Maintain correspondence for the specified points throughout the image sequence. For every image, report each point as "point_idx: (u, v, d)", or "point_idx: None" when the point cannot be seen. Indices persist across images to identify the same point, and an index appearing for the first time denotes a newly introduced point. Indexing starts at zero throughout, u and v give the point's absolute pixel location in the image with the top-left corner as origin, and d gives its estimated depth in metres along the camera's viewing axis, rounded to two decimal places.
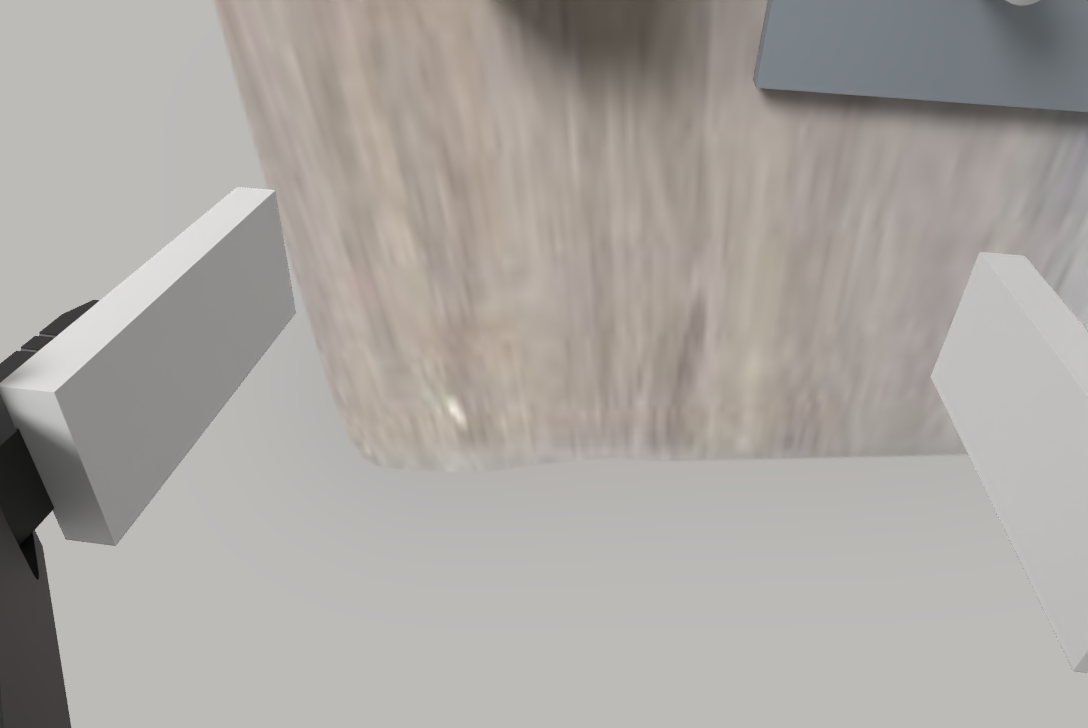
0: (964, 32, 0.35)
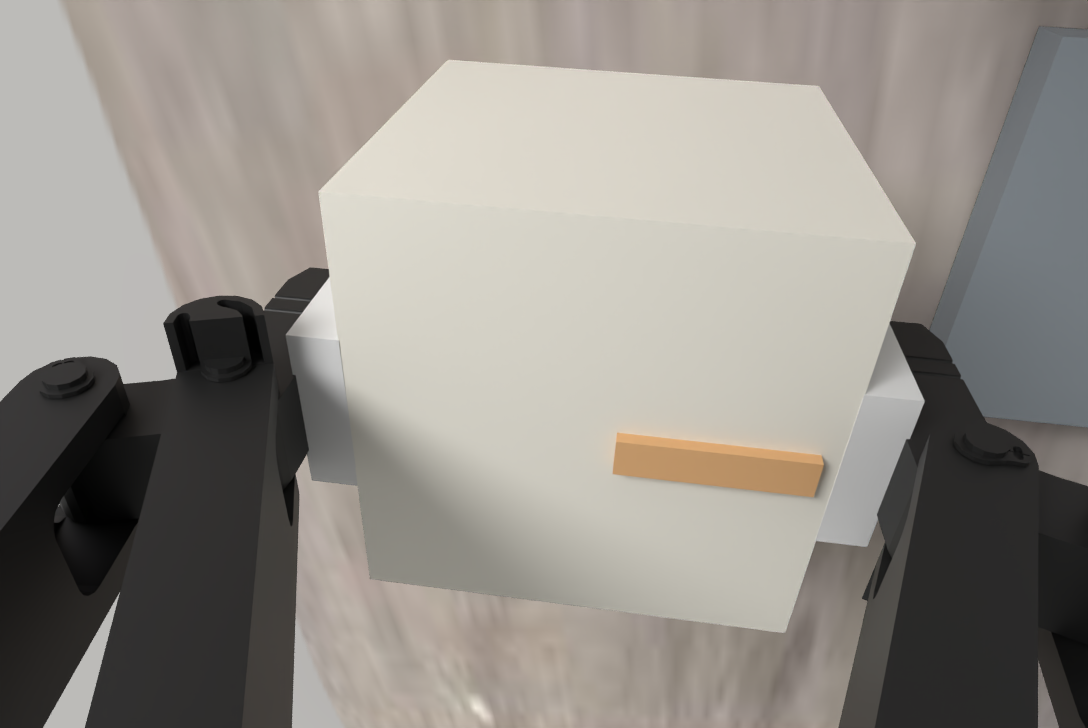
0: None
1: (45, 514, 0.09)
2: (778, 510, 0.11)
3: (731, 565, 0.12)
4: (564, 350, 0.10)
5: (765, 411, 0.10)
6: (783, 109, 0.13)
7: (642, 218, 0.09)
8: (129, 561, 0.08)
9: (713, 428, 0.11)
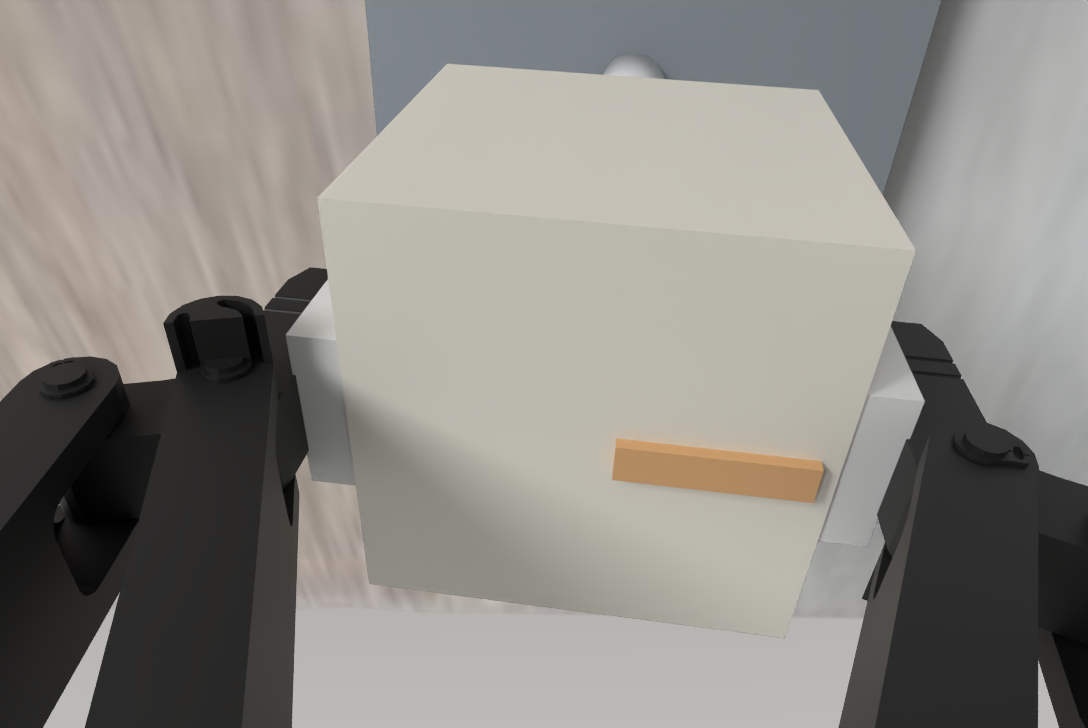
0: None
1: (45, 513, 0.09)
2: (777, 516, 0.11)
3: (731, 570, 0.12)
4: (563, 356, 0.10)
5: (765, 417, 0.10)
6: (783, 113, 0.13)
7: (641, 223, 0.09)
8: (129, 560, 0.08)
9: (713, 434, 0.11)
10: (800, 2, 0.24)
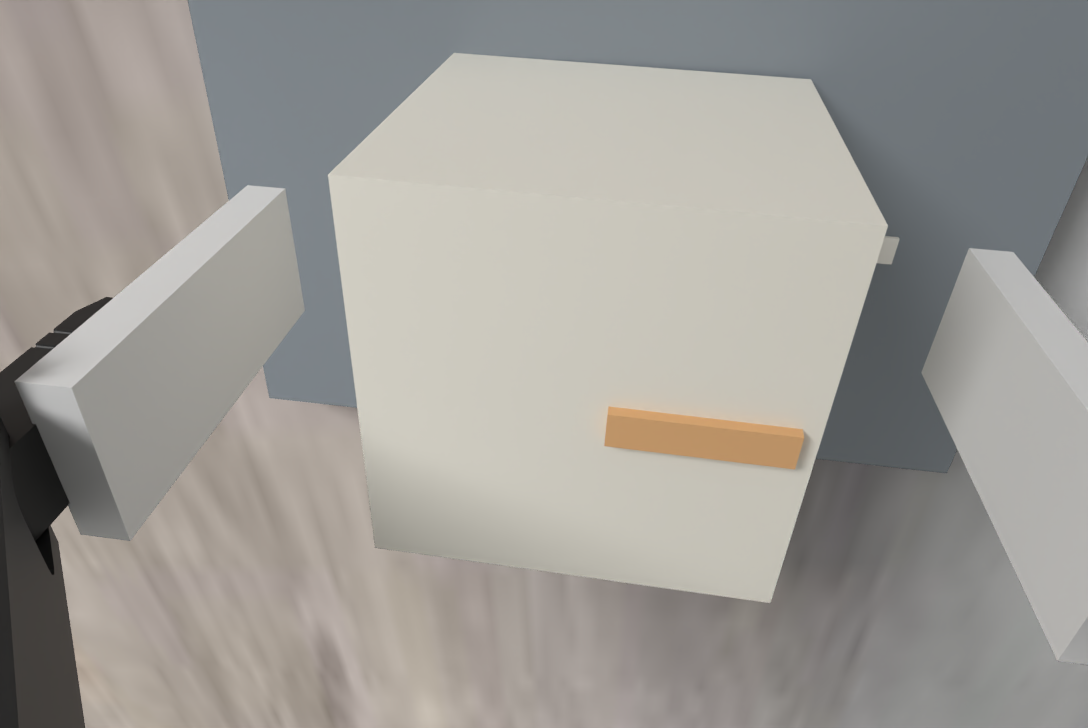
0: None
1: None
2: (762, 482, 0.12)
3: (718, 536, 0.13)
4: (558, 326, 0.11)
5: (748, 386, 0.11)
6: (774, 101, 0.14)
7: (630, 201, 0.10)
8: None
9: (699, 402, 0.11)
10: (879, 109, 0.15)
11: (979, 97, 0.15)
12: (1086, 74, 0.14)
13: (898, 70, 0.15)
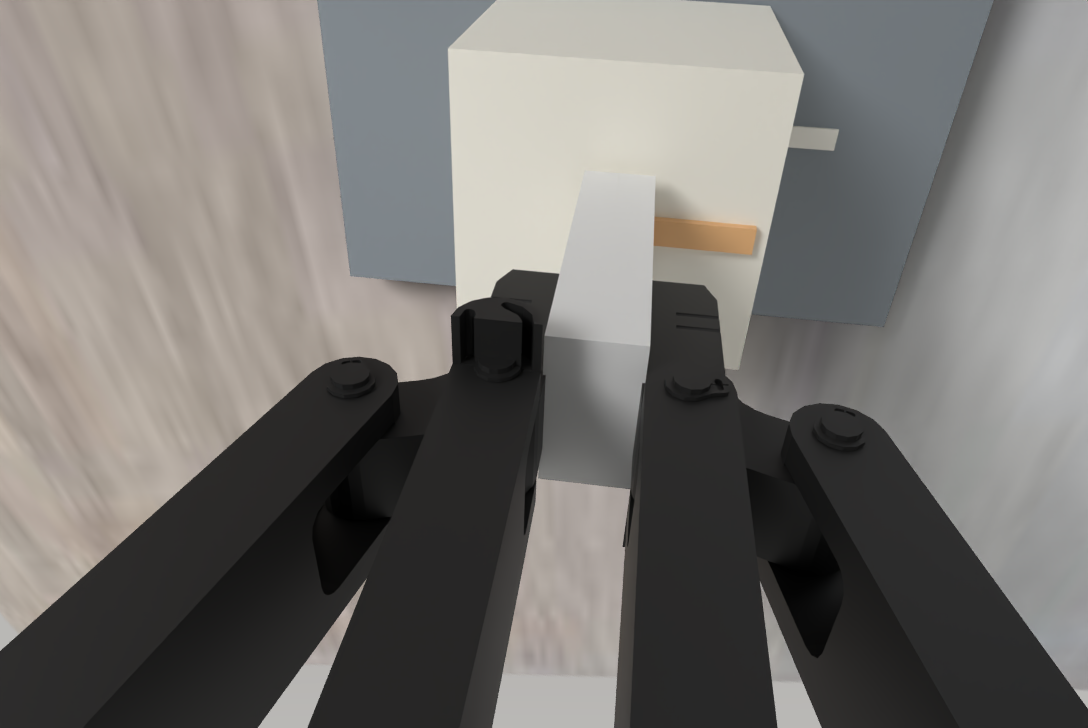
0: None
1: (308, 514, 0.09)
2: (730, 269, 0.17)
3: None
4: (594, 154, 0.16)
5: (720, 194, 0.17)
6: (741, 17, 0.19)
7: (642, 61, 0.15)
8: (382, 541, 0.08)
9: (687, 208, 0.17)
10: (820, 28, 0.21)
11: (892, 18, 0.20)
12: (967, 0, 0.20)
13: None
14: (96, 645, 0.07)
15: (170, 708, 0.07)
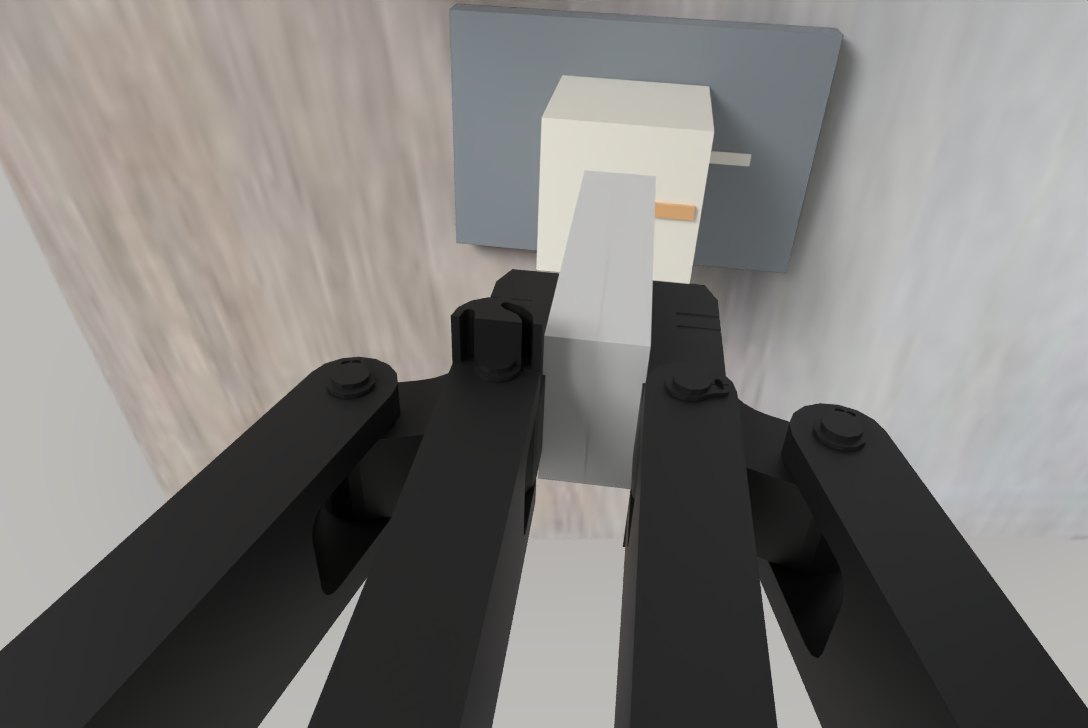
0: None
1: (308, 514, 0.09)
2: (683, 228, 0.34)
3: (668, 254, 0.34)
4: (612, 169, 0.33)
5: (676, 189, 0.33)
6: (691, 94, 0.35)
7: (637, 124, 0.32)
8: (382, 540, 0.08)
9: (660, 196, 0.33)
10: (738, 98, 0.37)
11: (777, 93, 0.37)
12: (816, 84, 0.36)
13: (743, 82, 0.37)
14: (95, 645, 0.07)
15: (169, 708, 0.07)
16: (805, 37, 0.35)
